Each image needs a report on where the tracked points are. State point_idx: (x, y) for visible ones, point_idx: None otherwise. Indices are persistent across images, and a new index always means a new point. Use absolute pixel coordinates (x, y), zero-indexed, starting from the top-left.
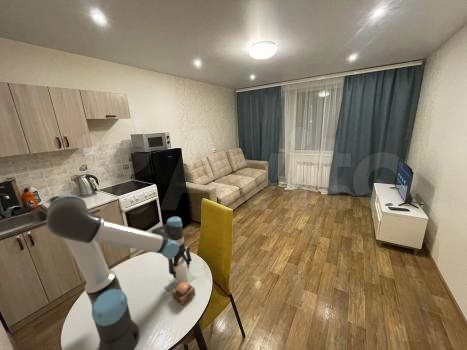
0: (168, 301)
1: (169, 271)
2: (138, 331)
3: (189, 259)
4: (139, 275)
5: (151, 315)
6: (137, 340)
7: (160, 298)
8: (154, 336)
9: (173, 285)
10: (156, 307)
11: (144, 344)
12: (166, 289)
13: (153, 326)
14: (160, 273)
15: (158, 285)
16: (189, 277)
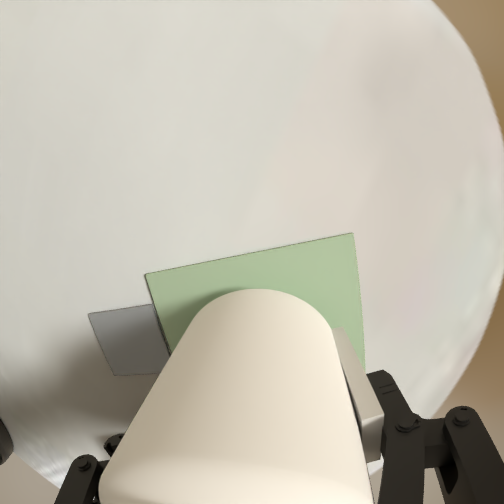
0: (107, 427)
1: (71, 484)
2: (1, 451)
3: (442, 488)
4: (6, 36)
5: (32, 417)
6: (9, 455)
7: (63, 375)
8: (57, 477)
9: (162, 354)
10: (47, 405)
11: (33, 467)
12: (102, 347)
13: (48, 455)
14: (111, 93)
15: (57, 249)
16: None
